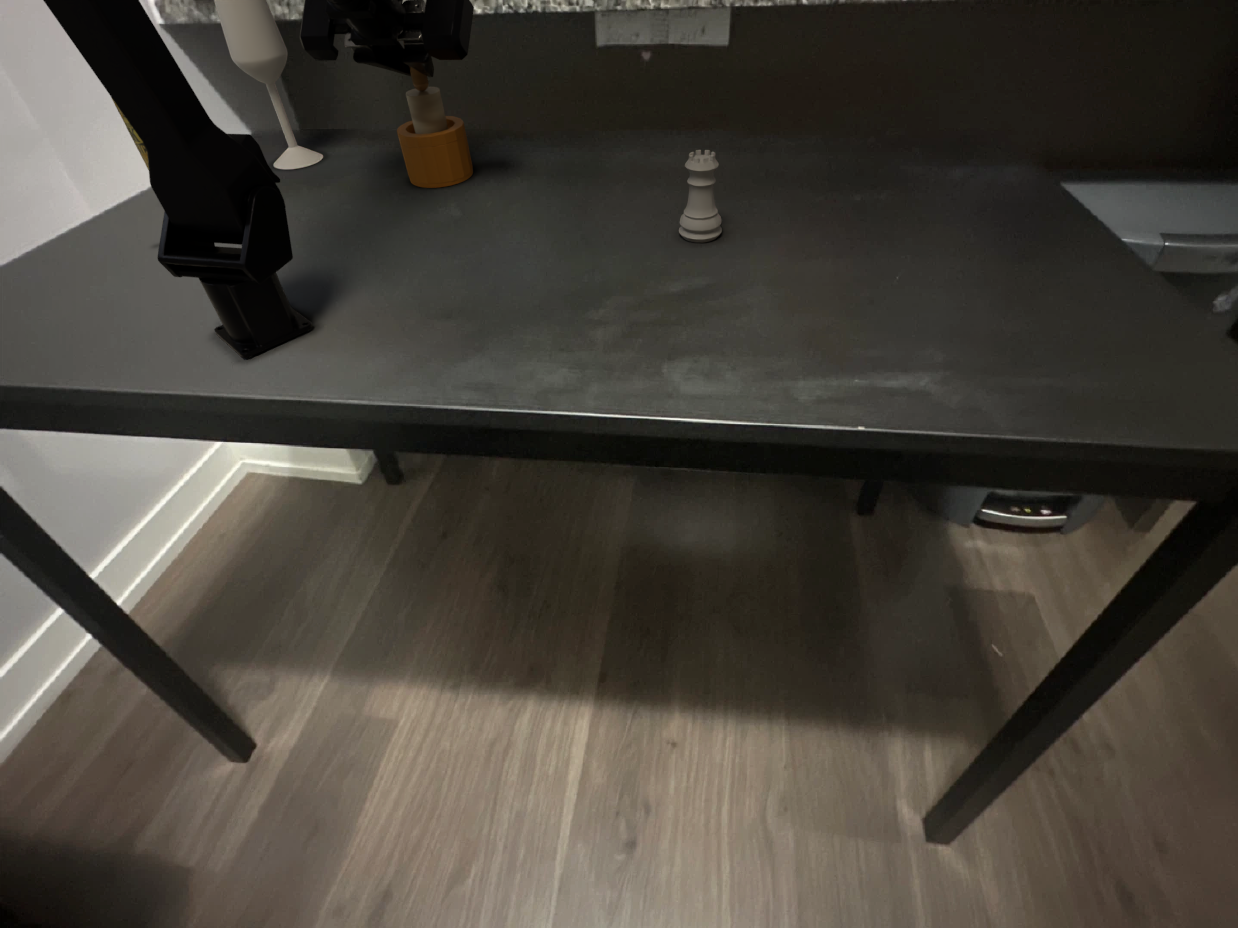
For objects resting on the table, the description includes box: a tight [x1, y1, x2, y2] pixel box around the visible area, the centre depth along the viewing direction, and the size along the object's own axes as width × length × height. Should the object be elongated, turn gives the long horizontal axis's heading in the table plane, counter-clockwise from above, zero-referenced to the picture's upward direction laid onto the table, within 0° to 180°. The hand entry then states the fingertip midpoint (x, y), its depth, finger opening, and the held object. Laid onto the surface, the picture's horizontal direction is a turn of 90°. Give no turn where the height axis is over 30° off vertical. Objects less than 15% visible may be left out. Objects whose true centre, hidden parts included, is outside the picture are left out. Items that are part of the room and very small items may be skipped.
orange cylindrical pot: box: [396, 115, 474, 189], centre depth 85 cm, size 8×8×6 cm
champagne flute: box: [213, 0, 324, 170], centre depth 87 cm, size 7×7×24 cm
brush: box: [402, 41, 448, 134], centre depth 80 cm, size 4×4×13 cm
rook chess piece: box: [678, 149, 723, 243], centre depth 68 cm, size 4×4×8 cm
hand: (424, 73), depth 81 cm, fingers closed on brush, 2 cm apart
